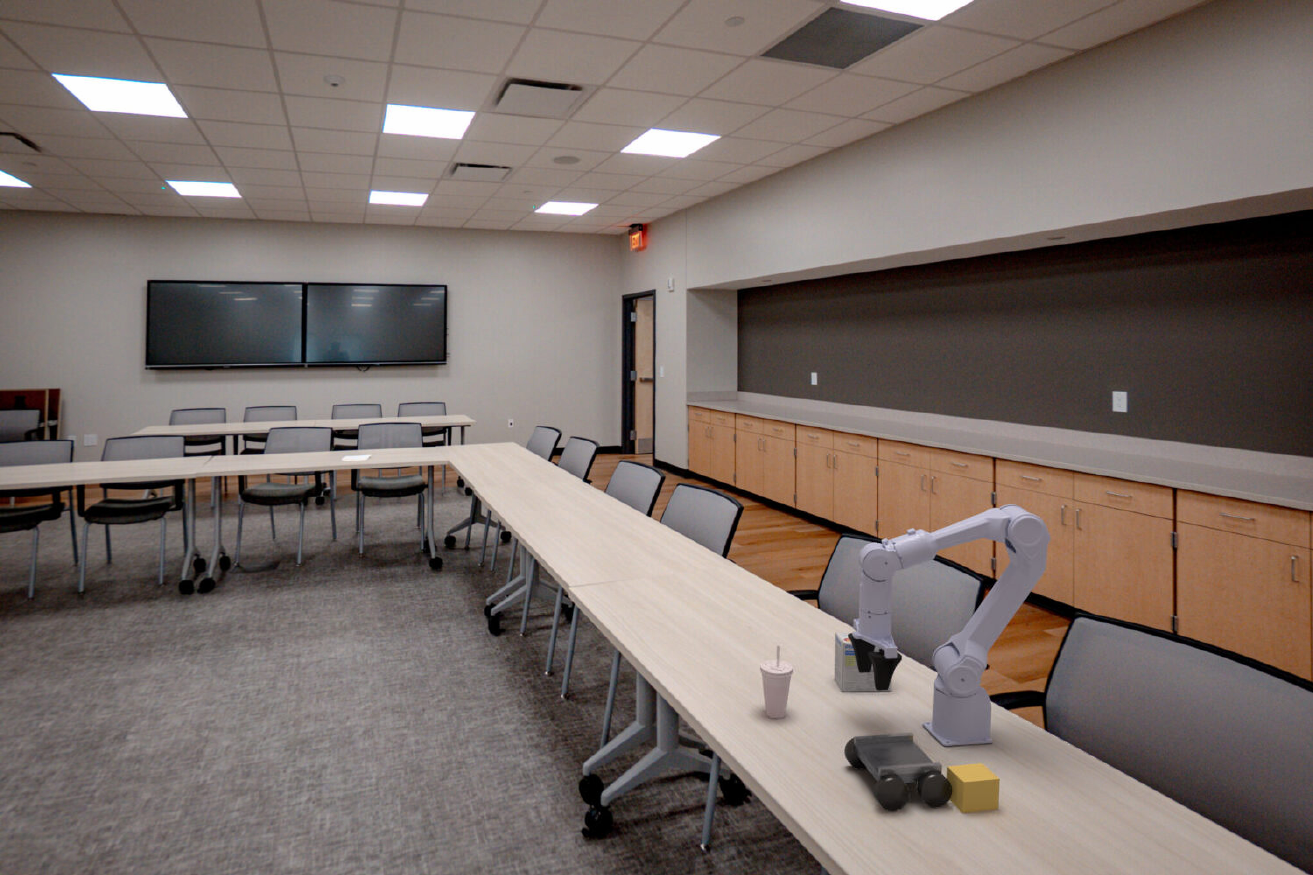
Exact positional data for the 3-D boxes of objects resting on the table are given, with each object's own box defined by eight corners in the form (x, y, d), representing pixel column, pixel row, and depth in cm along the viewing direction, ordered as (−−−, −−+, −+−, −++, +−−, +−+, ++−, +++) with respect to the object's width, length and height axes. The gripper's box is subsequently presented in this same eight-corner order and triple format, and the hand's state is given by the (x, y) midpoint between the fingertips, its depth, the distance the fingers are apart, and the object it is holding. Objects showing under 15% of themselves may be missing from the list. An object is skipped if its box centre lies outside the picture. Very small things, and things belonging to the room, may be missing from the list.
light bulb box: (881, 678, 158) (883, 630, 157) (892, 692, 151) (894, 642, 150) (832, 678, 158) (833, 630, 157) (841, 692, 151) (842, 642, 150)
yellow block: (980, 792, 116) (981, 762, 115) (998, 809, 111) (999, 778, 111) (945, 796, 115) (947, 766, 114) (962, 813, 110) (964, 782, 110)
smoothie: (767, 723, 138) (768, 652, 136) (753, 708, 144) (755, 639, 142) (798, 719, 139) (799, 649, 138) (783, 704, 146) (785, 636, 144)
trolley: (910, 760, 125) (911, 727, 124) (951, 806, 112) (953, 769, 111) (843, 765, 123) (844, 732, 123) (877, 812, 110) (879, 775, 110)
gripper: (839, 597, 140) (837, 665, 142) (871, 624, 126) (868, 699, 127) (874, 596, 141) (871, 663, 142) (909, 622, 127) (906, 697, 128)
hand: (872, 680), depth 135 cm, fingers open, 7 cm apart
